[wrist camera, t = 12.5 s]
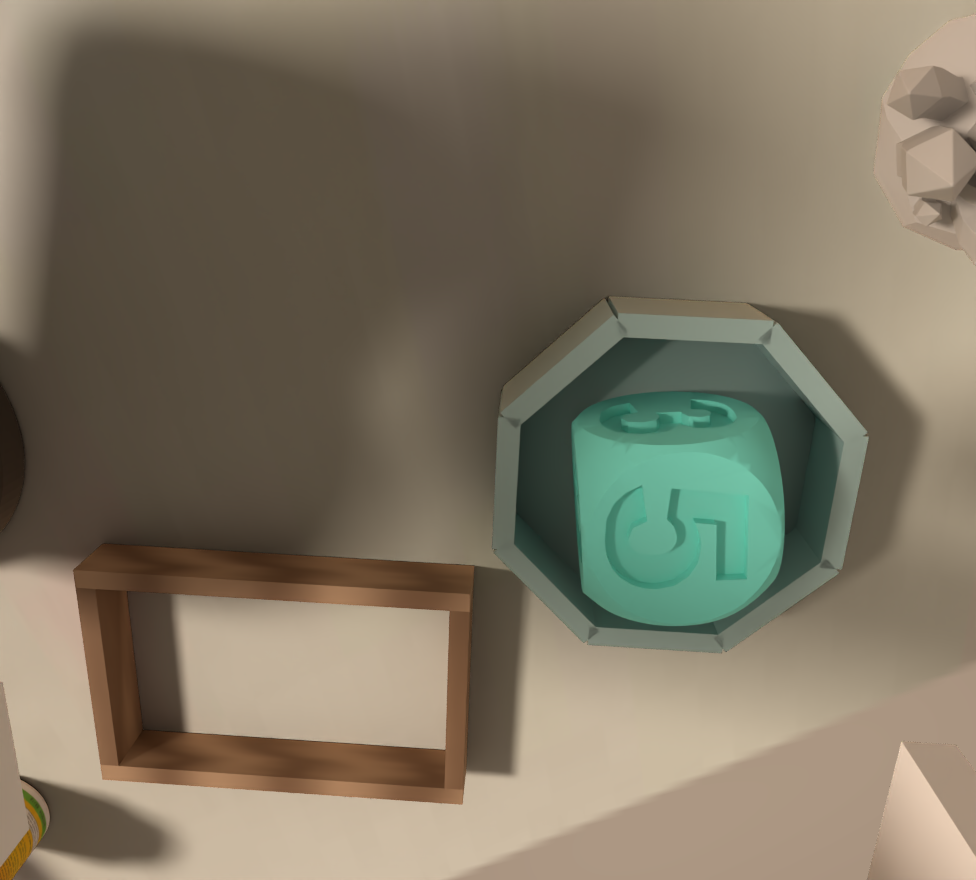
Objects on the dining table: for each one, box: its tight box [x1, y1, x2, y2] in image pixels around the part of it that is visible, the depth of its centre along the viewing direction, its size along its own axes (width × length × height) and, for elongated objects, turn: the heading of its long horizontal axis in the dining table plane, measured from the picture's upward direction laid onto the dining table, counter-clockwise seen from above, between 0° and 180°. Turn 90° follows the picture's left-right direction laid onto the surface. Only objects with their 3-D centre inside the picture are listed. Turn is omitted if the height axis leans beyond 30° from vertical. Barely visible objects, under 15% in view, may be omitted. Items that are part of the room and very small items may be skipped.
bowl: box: [492, 296, 869, 653], centre depth 38 cm, size 16×16×4 cm
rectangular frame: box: [73, 544, 474, 804], centre depth 44 cm, size 20×13×3 cm, turn 88°
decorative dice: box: [571, 391, 785, 626], centre depth 36 cm, size 8×8×8 cm
